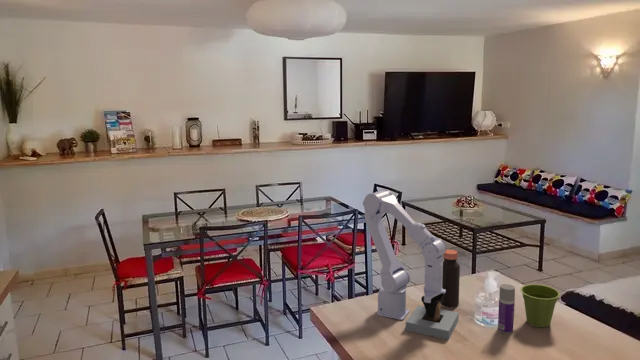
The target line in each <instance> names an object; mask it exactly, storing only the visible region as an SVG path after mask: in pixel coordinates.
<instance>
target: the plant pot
mask: <svg viewBox="0 0 640 360" xmlns="http://www.w3.org/2000/svg"><path fill="white" fill-rule="evenodd" d="M520 292H521V293H522V298H523V302H524V303H523V304H524V310H525V318H526V322H527V323H529V325H530V326H532V327H535V328H536V327H537V328H544V327H547V328H548V327H549V326H550V325H551V322H552V319H553V314H554V310H555V306H556V304H557V303H558V298H560V295H561V293H560V292H559V291H558V289H556V288H553V286H552V287H551V286H549V285H548V286H547V285H543V284H538V283H536V284H534V283H533V284H531V283H530V284H525V285H522V286H521V287H520Z"/></svg>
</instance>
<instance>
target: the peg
mask: <svg viewBox="0 0 640 360" xmlns="http://www.w3.org/2000/svg"><path fill="white" fill-rule="evenodd" d="M440 309H441V304H440V301H439V302H438V304H437V307H436V312H435V317H434V319H432V318H427V315H426V320H427V321H432V322H437V323H440Z"/></svg>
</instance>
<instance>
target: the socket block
mask: <svg viewBox="0 0 640 360" xmlns="http://www.w3.org/2000/svg"><path fill="white" fill-rule="evenodd" d="M426 315H427V314H426V309H425V306H424V305H421V304H420V305H419V304H418V305H417V306H416V307H415V309H414V310H413V312H412V313H411V314H410V315H409V317H407V320H406V321H405V332H410V333H417V334H419V335H423V336H428V337H429V336H430V337H434V338H439V339H444V340H448V341H449V340H450V338H451V336H452V334H453V332H454V331H455V328H456V327H457V325H458V323H459V316H460V313H459V312H457V311H451V310H445V309H441V308H440V323H437V322H432V321H427V320H426Z"/></svg>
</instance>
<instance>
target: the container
mask: <svg viewBox="0 0 640 360" xmlns="http://www.w3.org/2000/svg"><path fill="white" fill-rule="evenodd" d="M515 299H516V287H515V285H512V284H507V283H505V284H500V286H499V297H498V314H497V315H498V318H497V331H498V332H499V333H501V334H505V335H511V334H513V332H514V319H515V318H514V317H515V305H516V304H515V303H516V302H515Z"/></svg>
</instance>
